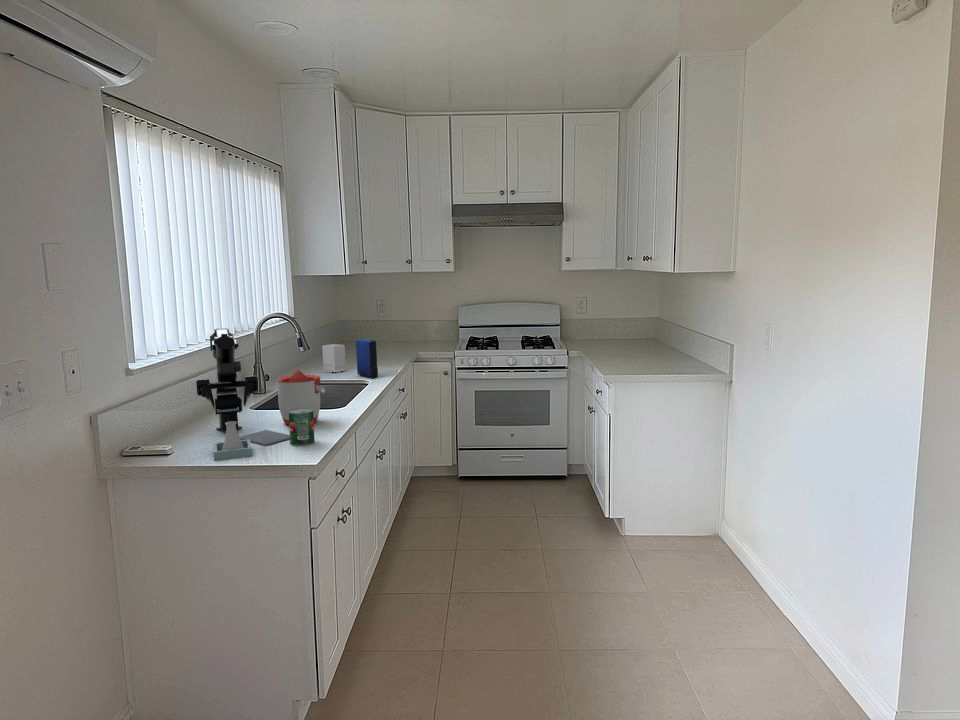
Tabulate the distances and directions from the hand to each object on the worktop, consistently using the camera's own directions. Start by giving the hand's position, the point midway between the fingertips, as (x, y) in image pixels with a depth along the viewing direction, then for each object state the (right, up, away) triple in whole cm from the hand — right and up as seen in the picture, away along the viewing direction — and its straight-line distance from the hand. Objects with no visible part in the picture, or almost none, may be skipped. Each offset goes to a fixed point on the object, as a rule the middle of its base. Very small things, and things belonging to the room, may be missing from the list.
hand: (229, 406), depth 207 cm
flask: (+3, -15, -5) cm, 16 cm away
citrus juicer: (+14, -9, +34) cm, 38 cm away
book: (+21, +6, +132) cm, 134 cm away
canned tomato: (+22, -13, +6) cm, 26 cm away
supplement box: (0, +8, +150) cm, 150 cm away
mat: (+8, -12, +12) cm, 18 cm away
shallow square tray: (+3, -14, -5) cm, 15 cm away
